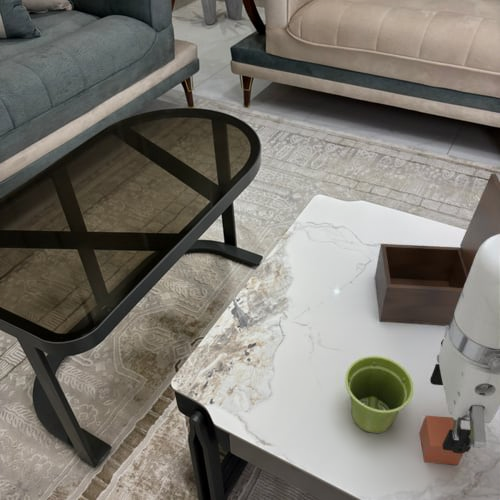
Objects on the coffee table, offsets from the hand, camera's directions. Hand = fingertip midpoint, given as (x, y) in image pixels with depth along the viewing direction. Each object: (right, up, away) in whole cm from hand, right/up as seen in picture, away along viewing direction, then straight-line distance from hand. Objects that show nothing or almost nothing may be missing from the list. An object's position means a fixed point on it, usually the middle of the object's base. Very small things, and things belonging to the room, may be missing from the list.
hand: (447, 414), depth 67 cm
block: (+1, -7, +5) cm, 8 cm away
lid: (+12, +25, +15) cm, 32 cm away
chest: (+5, +12, +27) cm, 30 cm away
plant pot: (-8, -3, +9) cm, 13 cm away
